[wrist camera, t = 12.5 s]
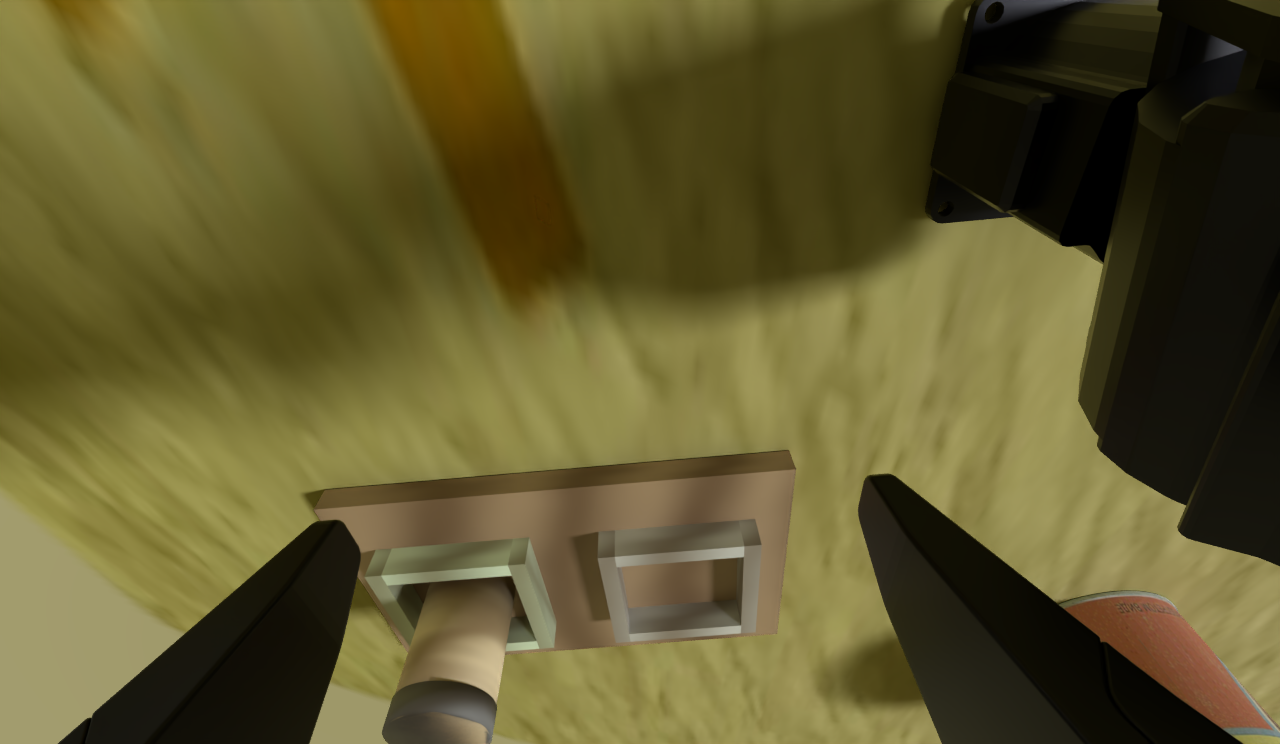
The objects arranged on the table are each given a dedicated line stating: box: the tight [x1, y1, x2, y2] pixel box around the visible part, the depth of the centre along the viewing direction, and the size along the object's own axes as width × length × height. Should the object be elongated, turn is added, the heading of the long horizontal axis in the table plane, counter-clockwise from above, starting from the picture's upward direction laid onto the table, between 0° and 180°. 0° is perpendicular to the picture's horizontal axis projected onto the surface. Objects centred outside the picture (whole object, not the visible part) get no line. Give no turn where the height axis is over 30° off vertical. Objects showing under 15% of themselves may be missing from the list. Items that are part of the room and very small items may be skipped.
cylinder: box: [382, 576, 515, 744], centre depth 26 cm, size 4×4×7 cm
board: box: [314, 451, 796, 655], centre depth 29 cm, size 22×14×3 cm, turn 95°
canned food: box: [1059, 591, 1280, 744], centre depth 32 cm, size 11×11×12 cm
